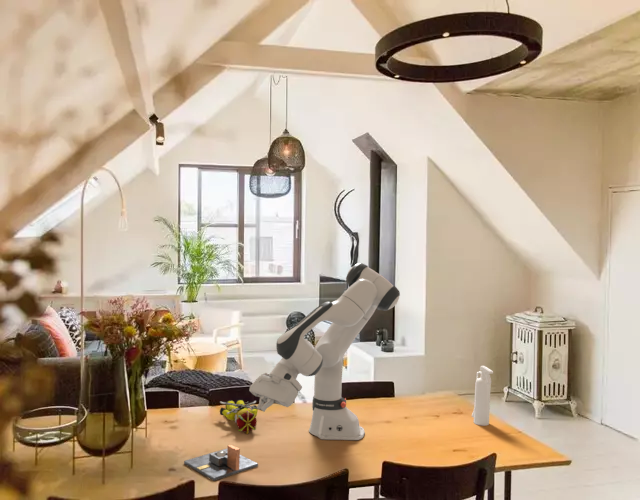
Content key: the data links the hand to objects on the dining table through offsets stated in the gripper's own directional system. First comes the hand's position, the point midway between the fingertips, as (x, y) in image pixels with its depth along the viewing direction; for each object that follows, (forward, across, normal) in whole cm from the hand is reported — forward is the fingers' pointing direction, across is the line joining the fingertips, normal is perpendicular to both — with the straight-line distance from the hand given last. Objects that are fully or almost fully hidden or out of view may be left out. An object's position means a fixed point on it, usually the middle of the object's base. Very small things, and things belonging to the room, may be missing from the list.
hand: (260, 409), depth 206 cm
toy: (0, -35, +27) cm, 44 cm away
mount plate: (+21, -6, +4) cm, 23 cm away
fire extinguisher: (-57, +30, +83) cm, 105 cm away
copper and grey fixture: (+21, -2, +3) cm, 21 cm away
